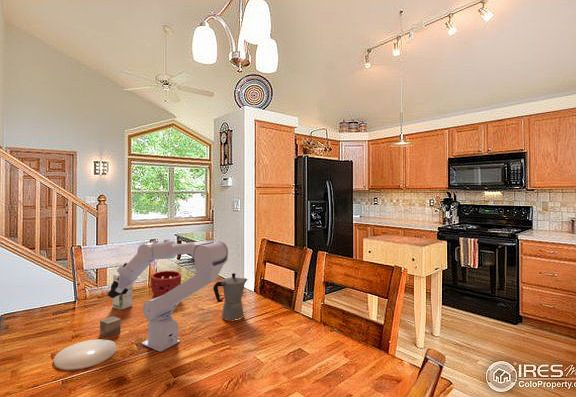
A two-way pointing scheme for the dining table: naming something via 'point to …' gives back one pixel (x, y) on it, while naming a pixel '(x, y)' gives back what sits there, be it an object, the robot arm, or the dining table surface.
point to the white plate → (84, 354)
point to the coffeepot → (231, 297)
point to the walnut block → (110, 326)
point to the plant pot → (164, 282)
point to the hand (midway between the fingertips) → (115, 288)
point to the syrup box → (123, 296)
